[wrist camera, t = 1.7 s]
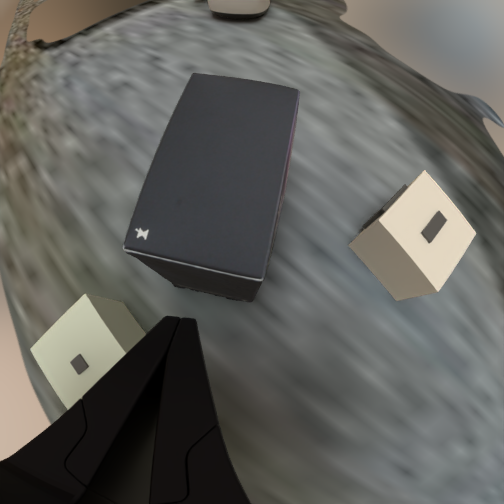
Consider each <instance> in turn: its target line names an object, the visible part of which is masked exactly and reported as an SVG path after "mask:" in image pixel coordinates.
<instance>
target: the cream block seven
mask: <svg viewBox="0 0 504 504" xmlns="http://www.w3.org/2000/svg"><path fill="white" fill-rule="evenodd" d="M363 228H364V230H363V231H362V232H361V233H360V234H359V235H358V236H357V237H356V238H355V239H354V240H353V241H352V242H351V243H350V244H349V245H348V246H349V247H350V248H351V249H352V250H353V251H354V253H355V254H356V255H357V256H358V257H359V258H360V259H361V260H362V262H363V263H364V264H365V265H366V266H367V267H368V268H369V270H370V271H371V272H372V273H373V274H374V275H375V276H376V278H377V279H378V280H379V281H380V282H381V283H382V285H383V286H384V287H385V288H386V289H387V291H388V292H389V293H390V294H391V295H392V297H393V298H394V299H395V300H396V301H399V300H404V299H409V298H413V297H418V296H423V295H427V294H432V293H436V292H438V291H439V290H440V288H441V287H442V286H443V284H444V283H445V281H446V280H447V278H448V277H449V276H450V274H451V273H452V271H453V270H454V268H455V267H456V265H457V264H458V262H459V260H460V259H461V257H462V256H463V254H464V253H465V251H466V249H467V248H468V246H469V244H470V243H471V241H472V239H473V238H474V236H475V234H476V232H475V231H474V230H473V228H472V227H471V226H470V224H469V223H468V222H467V220H466V219H465V218H464V216H463V215H462V214H461V212H460V211H459V210H458V209H457V207H456V206H455V205H454V204H453V202H452V201H451V200H450V199H449V197H448V196H447V195H446V194H445V193H444V191H443V190H442V189H441V188H440V187H439V186H438V184H437V183H436V182H435V181H434V180H433V179H432V178H431V177H430V175H429V174H428V173H427V172H426V171H425V170H424V171H423V172H422V173H421V174H420V175H419V176H418V177H417V178H416V179H415V180H414V181H413V182H412V183H410V184H409V185H408V186H406V185H404V186H403V187H402V188H401V189H400V190H399V191H398V192H397V193H396V194H395V195H394V196H393V197H392V198H391V199H390V200H389V201H388V202H387V203H386V204H385V206H384V207H382V208H381V209H380V210H379V211H378V212H377V213H376V214H375V215H374V216H373V217H372V218H370V219H369V220H368V221H367V222H366V223H365V224H364V225H363Z"/></svg>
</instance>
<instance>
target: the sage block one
mask: <svg viewBox="0 0 504 504" xmlns="http://www.w3.org/2000/svg"><path fill="white" fill-rule="evenodd" d="M145 335H146V333H145V332H144V331H143V329H142V328H141V327H140V325H139V324H138V323H137V321H136V320H135V318H134V317H133V316H132V314H131V313H130V312H129V310H128V309H127V307H126V306H125V305H124V303H123V302H120V301H116V300H111V299H107V298H102V297H98V296H94V295H90V294H86V293H85V294H84V295H83V296H82V297H81V298H80V299H79V300H78V301H77V302H76V303H75V304H74V305H73V306H72V307H71V308H70V309H69V310H68V311H67V312H66V313H65V314H64V315H63V316H62V317H61V318H60V319H59V320H58V321H57V322H56V323H55V324H54V325H53V326H52V327H51V328H50V329H49V330H48V331H47V332H46V333H45V334H44V335H43V336H42V337H41V338H40V339H39V340H38V341H37V343H36V344H35V345H34V346H33V347H32V348H31V349H30V350H31V352H32V353H33V355H34V357H35V359H36V361H37V362H38V364H39V366H40V368H41V369H42V371H43V373H44V374H45V376H46V377H47V379H48V381H49V382H50V384H51V385H52V387H53V389H54V390H55V392H56V393H57V395H58V396H59V398H60V399H61V401H62V402H63V403H64V405H65V406H66V408H67V409H70V408H71V407H72V406H73V405H74V404H75V403H76V402H77V401H78V400H79V399H80V398H81V399H82V396H83V395H84V394H85V393H86V392H87V391H88V390H89V389H90V388H91V387H92V386H93V385H94V384H95V383H96V382H97V381H98V380H99V379H100V378H101V377H102V376H103V375H104V374H106V373H107V372H108V371H109V370H110V369H111V368H112V367H113V366H114V365H115V364H116V363H117V362H118V361H119V360H120V359H121V358H122V357H123V356H124V355H125V354H126V353H127V352H128V351H129V350H130V349H131V348H132V347H133V346H134V345H136V344H137V343H138V342H139V341H140V340H141V339H142V338H143V337H144V336H145Z"/></svg>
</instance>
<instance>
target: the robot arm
mask: <svg viewBox="0 0 504 504" xmlns="http://www.w3.org/2000/svg"><path fill="white" fill-rule="evenodd" d="M0 504H251V503H250V501H249V499H248V497H247V495H246V493H245V491H244V489H243V487H242V485H241V483H240V481H239V479H238V477H237V474H236V472H235V470H234V467H233V465H232V463H231V460H230V458H229V455H228V452H227V449H226V445H225V442H224V439H223V435H222V431H221V428H220V426H219V420H218V416H217V412H216V408H215V404H214V400H213V396H212V392H211V387H210V383H209V379H208V374H207V370H206V365H205V361H204V356H203V351H202V346H201V341H200V336H199V331H198V326H197V321H196V319H193V318H181V319H180V318H179V317H174V316H165V317H164V318H163V319H162V320H161V321H160V322H158V323H157V324H156V325H155V326H154V327H153V328H152V329H151V330H150V331H149V332H148V333H147V334H146V335H145V336H144V337H143V338H142V339H141V340H140V341H139V342H138V343H137V344H136V345H134V346H133V347H132V348H131V349H130V350H129V351H128V352H127V353H126V354H125V355H124V356H123V357H122V358H121V359H120V360H119V361H118V362H117V363H116V364H115V365H114V366H113V367H112V368H111V369H110V370H109V371H108V372H107V373H106V374H104V375H103V376H102V377H101V378H100V379H99V380H98V381H97V382H96V383H95V384H94V385H93V386H92V387H91V388H90V389H89V390H88V391H87V392H86V393H85V394H84V395H83V396H82V399H81V398H80V399H79V400H78V401H77V402H76V403H75V404H74V405H73V406H72V407H71V408H70V409H68V410H67V411H66V412H65V413H64V414H63V415H62V416H61V417H60V418H59V419H58V420H56V421H55V422H54V423H53V424H52V425H50V426H49V427H48V428H47V429H46V430H44V431H43V432H42V433H41V434H39V435H38V436H37V437H35V438H34V439H33V440H31V441H30V442H29V443H27V444H26V445H25V446H24V447H22V448H21V449H20V450H18V451H17V452H16V453H14V454H13V455H12V456H10V457H9V458H7V459H4V460H2V461H0Z"/></svg>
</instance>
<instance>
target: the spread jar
mask: <svg viewBox="0 0 504 504" xmlns="http://www.w3.org/2000/svg"><path fill="white" fill-rule="evenodd" d="M208 5H209V9H210V10H211V12H213V13H214V14H216V15H219V16H222V17H225V18H229V19H237V20H243V19H252V18H256V17H259V16H262V15H263V14H265V13H266V12H267V10H268V8H269V5H270V0H208Z"/></svg>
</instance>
